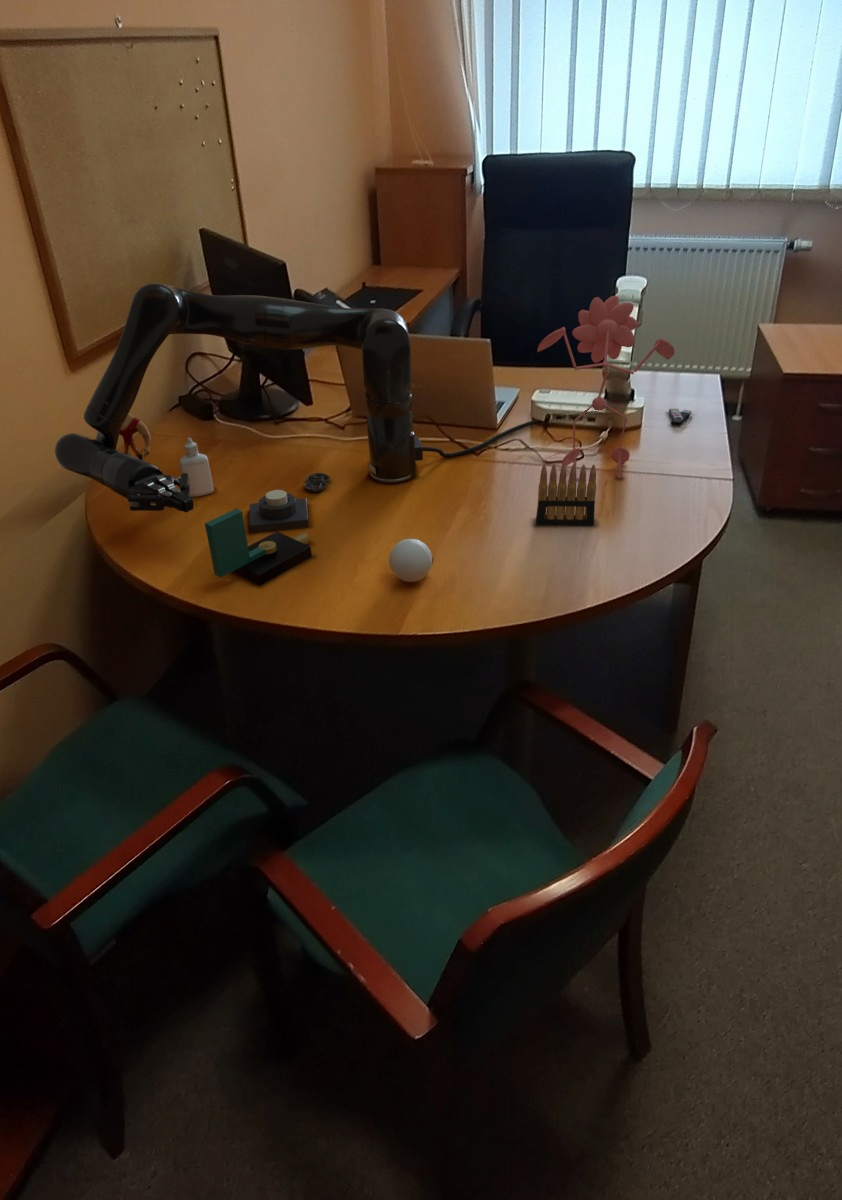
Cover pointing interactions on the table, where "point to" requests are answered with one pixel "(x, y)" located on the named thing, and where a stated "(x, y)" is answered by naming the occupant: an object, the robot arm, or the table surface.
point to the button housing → (278, 515)
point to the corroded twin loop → (316, 482)
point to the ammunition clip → (566, 498)
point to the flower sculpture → (604, 353)
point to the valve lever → (232, 543)
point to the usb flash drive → (679, 416)
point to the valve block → (276, 557)
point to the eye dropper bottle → (196, 470)
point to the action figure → (127, 431)
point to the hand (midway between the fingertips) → (189, 505)
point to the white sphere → (410, 560)
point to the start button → (276, 498)
